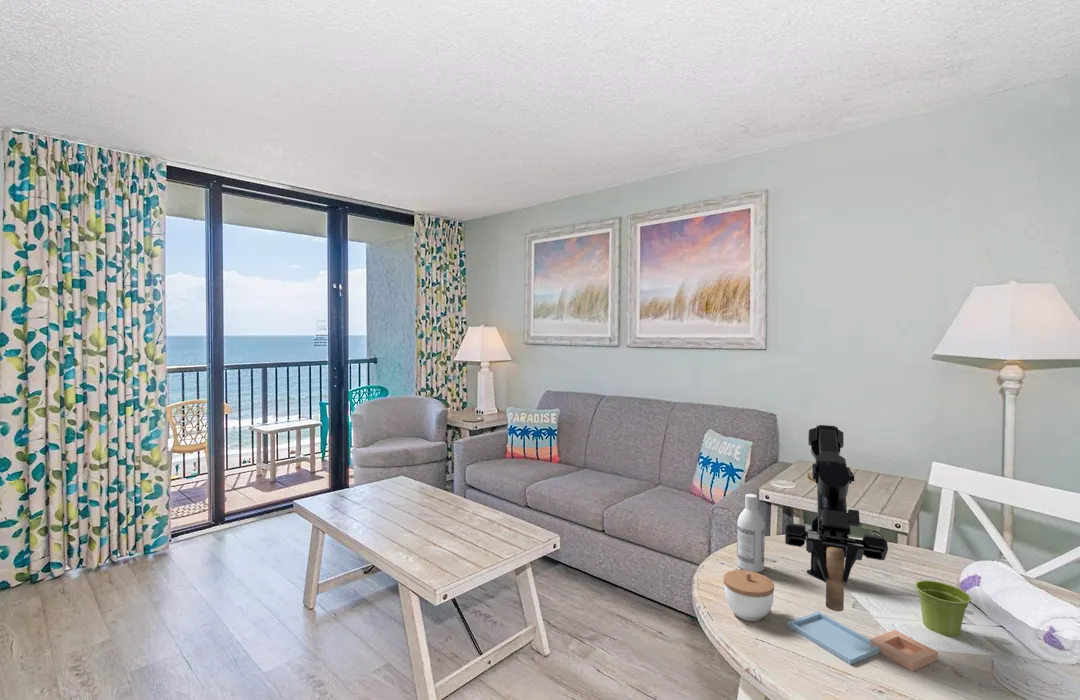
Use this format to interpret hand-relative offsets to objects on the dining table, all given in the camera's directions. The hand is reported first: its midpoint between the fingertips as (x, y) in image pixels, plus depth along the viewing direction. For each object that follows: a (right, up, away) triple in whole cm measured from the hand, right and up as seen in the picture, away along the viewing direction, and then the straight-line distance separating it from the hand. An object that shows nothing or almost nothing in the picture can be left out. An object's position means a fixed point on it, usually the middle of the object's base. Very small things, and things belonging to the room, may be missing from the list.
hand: (835, 580), depth 102 cm
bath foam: (-3, -13, +35) cm, 37 cm away
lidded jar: (-13, -13, +12) cm, 22 cm away
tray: (+1, -13, +2) cm, 13 cm away
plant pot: (+26, -13, +6) cm, 30 cm away
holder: (+12, -13, -3) cm, 18 cm away
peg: (+1, -6, +1) cm, 6 cm away
